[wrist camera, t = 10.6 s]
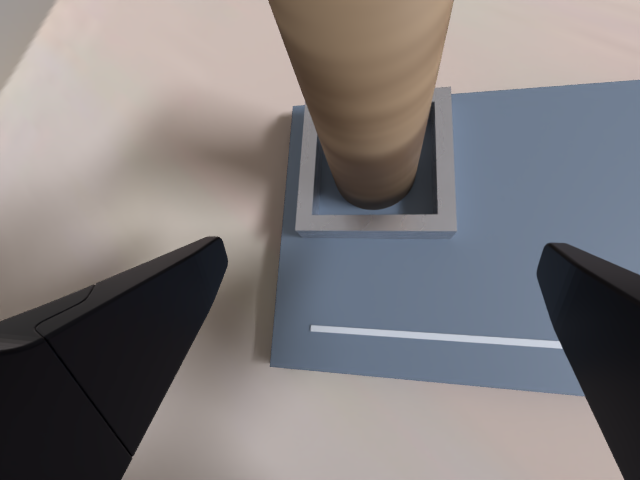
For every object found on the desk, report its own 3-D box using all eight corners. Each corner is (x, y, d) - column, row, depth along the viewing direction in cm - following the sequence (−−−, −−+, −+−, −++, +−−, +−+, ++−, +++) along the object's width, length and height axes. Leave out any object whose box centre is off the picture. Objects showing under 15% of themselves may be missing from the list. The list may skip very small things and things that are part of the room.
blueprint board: (806, 412, 13) (843, 421, 12) (276, 364, 17) (269, 366, 16) (718, 86, 16) (741, 70, 15) (297, 116, 21) (292, 105, 20)
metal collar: (450, 239, 16) (456, 231, 15) (302, 237, 18) (295, 230, 16) (445, 105, 18) (450, 86, 16) (311, 114, 19) (305, 98, 18)
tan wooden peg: (431, 185, 17) (530, -95, 5) (356, 224, 17) (298, 35, 6) (391, 122, 18) (402, -213, 7) (321, 158, 18) (218, -102, 7)
